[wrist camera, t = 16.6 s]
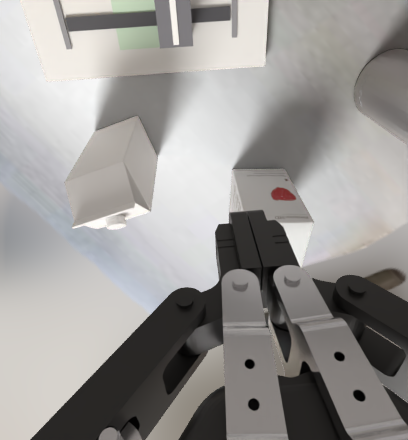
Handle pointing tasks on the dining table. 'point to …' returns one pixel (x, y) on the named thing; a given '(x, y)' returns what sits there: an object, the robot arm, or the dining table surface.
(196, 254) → the dining table surface
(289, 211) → the supplement box
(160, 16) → the fader charcoal
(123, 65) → the board
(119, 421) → the robot arm
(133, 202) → the milk carton
